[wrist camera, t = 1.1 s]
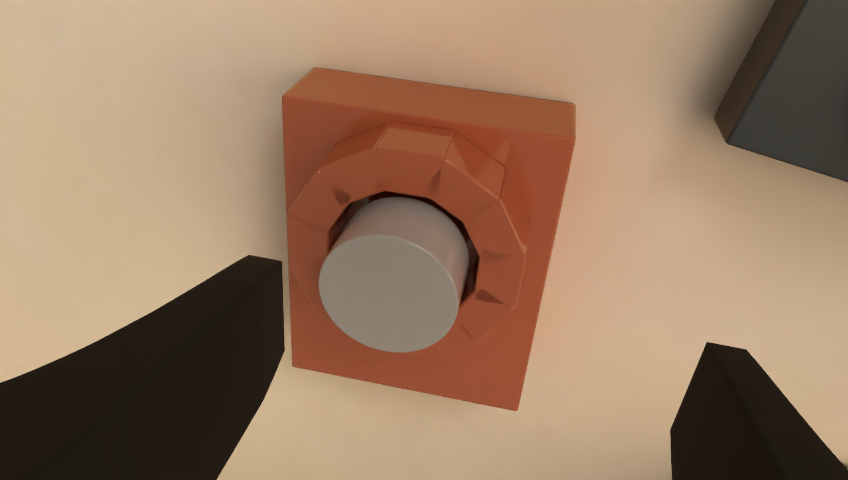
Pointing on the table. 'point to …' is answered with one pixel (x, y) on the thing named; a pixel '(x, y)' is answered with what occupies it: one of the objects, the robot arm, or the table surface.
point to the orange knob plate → (442, 188)
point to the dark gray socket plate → (794, 89)
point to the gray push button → (395, 275)
